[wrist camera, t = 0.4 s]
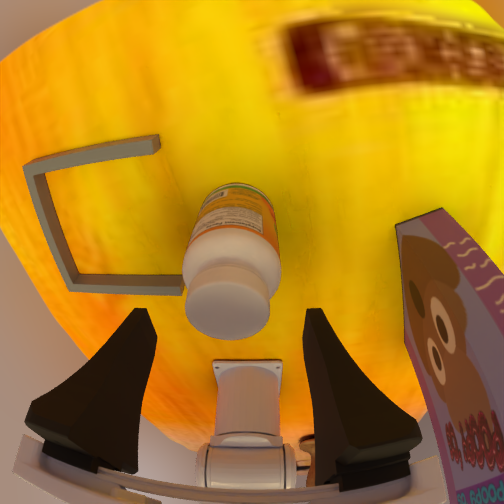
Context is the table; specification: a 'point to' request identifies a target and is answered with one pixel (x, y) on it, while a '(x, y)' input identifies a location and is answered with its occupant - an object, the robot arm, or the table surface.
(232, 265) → the supplement bottle
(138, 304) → the table surface
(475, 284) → the cereal box
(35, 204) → the tray frame
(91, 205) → the table surface
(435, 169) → the table surface
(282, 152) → the table surface
